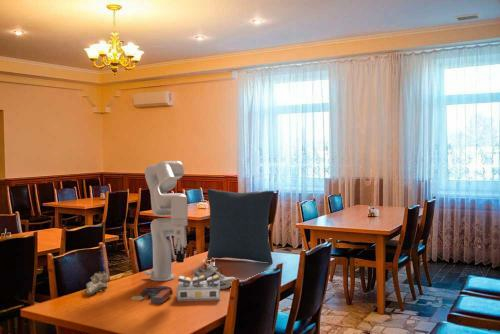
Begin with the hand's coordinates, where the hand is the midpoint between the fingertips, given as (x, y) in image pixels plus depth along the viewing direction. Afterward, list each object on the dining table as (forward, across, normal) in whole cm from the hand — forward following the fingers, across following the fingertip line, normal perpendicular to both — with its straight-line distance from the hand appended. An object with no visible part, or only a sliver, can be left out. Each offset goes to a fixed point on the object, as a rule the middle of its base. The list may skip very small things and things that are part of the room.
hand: (180, 262), depth 221 cm
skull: (+16, +14, +42) cm, 47 cm away
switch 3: (+8, 0, -15) cm, 17 cm away
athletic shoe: (+17, +18, -15) cm, 29 cm away
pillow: (+16, +71, -30) cm, 78 cm away
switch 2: (+8, 0, -8) cm, 12 cm away
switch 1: (+8, 0, -2) cm, 9 cm away
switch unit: (+16, +1, -8) cm, 18 cm away
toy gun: (+17, +2, +12) cm, 21 cm away
